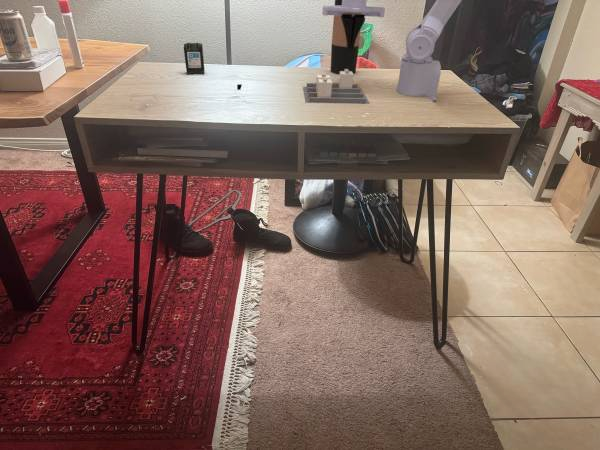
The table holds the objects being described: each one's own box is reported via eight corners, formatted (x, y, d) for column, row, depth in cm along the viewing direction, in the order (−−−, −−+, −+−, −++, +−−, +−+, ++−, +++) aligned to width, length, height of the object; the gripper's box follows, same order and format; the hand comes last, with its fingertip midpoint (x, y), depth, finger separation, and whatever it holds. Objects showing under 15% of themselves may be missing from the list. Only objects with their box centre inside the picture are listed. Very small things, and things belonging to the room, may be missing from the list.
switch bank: (360, 92, 111) (361, 83, 109) (369, 108, 100) (370, 99, 99) (302, 91, 110) (302, 82, 109) (305, 107, 99) (305, 98, 98)
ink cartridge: (186, 74, 120) (183, 44, 115) (187, 72, 122) (183, 42, 117) (204, 74, 121) (201, 44, 116) (204, 72, 122) (202, 42, 118)
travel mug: (326, 72, 127) (331, -4, 116) (351, 72, 128) (358, -3, 117) (333, 79, 120) (338, -1, 110) (359, 79, 122) (367, 0, 111)
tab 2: (350, 87, 109) (352, 68, 106) (351, 90, 106) (353, 71, 104) (338, 87, 109) (340, 68, 106) (339, 90, 106) (341, 71, 104)
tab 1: (329, 96, 102) (330, 76, 99) (330, 100, 99) (332, 79, 97) (316, 96, 102) (318, 76, 99) (317, 99, 99) (319, 79, 97)
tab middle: (328, 91, 105) (329, 72, 103) (329, 95, 103) (330, 75, 100) (315, 91, 105) (316, 72, 102) (316, 94, 103) (317, 75, 100)
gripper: (326, -15, 95) (322, 50, 102) (390, -12, 96) (382, 52, 103) (323, -17, 101) (319, 45, 108) (384, -15, 102) (376, 46, 109)
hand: (350, 48), depth 106 cm, fingers closed
